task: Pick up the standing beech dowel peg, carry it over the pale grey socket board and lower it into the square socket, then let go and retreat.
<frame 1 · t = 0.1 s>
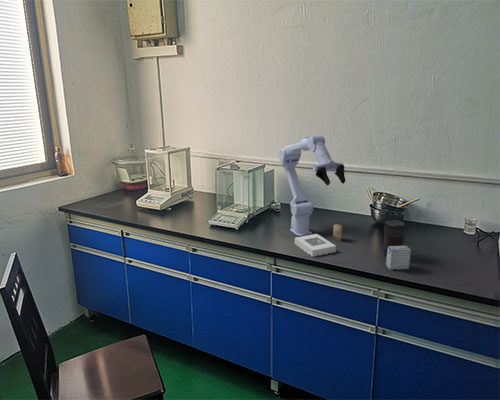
hand: (336, 183, 168), 32 cm above the worktop, tool tilted 50°, fingers open, 7 cm apart
peg: (337, 239, 192), on the worktop
medicine box: (397, 267, 163), on the worktop
socket board: (314, 247, 183), on the worktop
camera lens: (391, 255, 174), on the worktop
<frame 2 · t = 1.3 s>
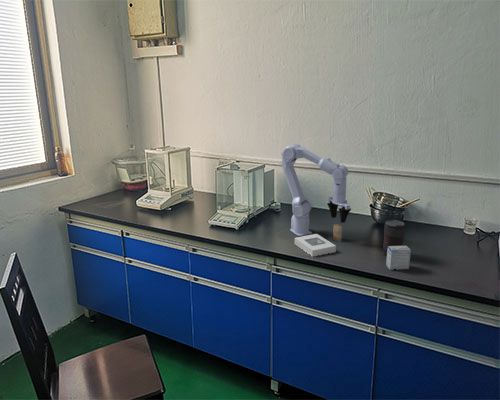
hand: (338, 219, 189), 10 cm above the worktop, tool pointing down, fingers open, 7 cm apart
nothing on the worktop moved.
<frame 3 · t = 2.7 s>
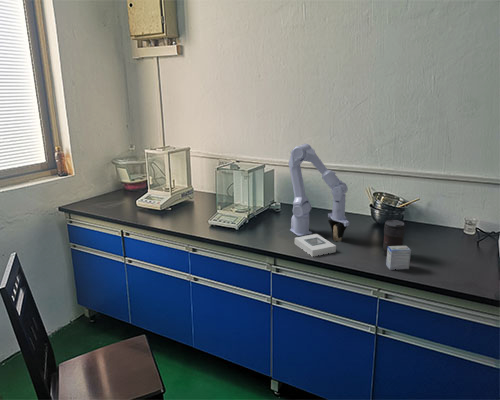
hand: (337, 235, 192), 2 cm above the worktop, tool pointing down, fingers closed on peg, 4 cm apart
peg: (337, 239, 192), on the worktop, touching gripper
everything else where it was.
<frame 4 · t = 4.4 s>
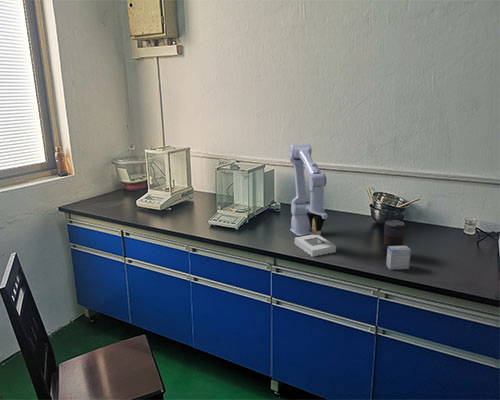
hand: (315, 229, 181), 9 cm above the worktop, tool pointing down, fingers closed on peg, 4 cm apart
peg: (316, 233, 181), point 7 cm above the worktop, touching gripper
everything else where it was.
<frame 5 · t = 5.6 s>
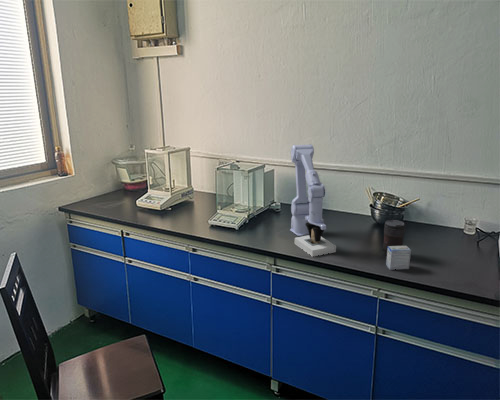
hand: (314, 239, 182), 4 cm above the worktop, tool pointing down, fingers closed on peg, 4 cm apart
peg: (315, 243, 183), point 2 cm above the worktop, touching gripper
everything else where it was.
when the fingers open (4 cm above the worktop, at t = 6.2 s): peg drops 2 cm, resting in socket board.
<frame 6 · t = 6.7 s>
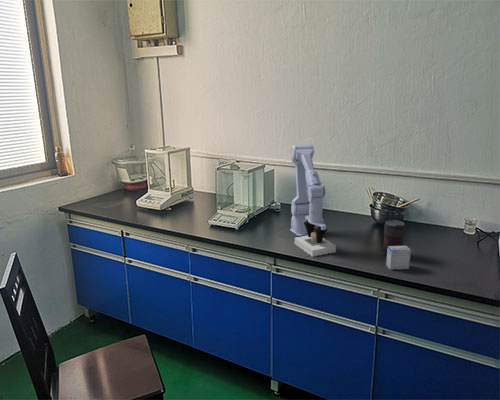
hand: (314, 239, 182), 4 cm above the worktop, tool pointing down, fingers open, 7 cm apart
peg: (315, 247, 183), resting in socket board
everything else where it was.
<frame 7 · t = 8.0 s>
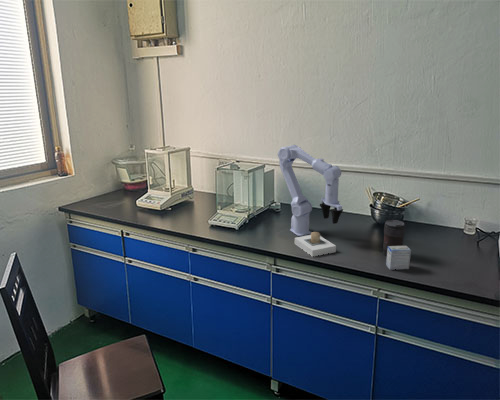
hand: (330, 220, 188), 10 cm above the worktop, tool pointing down, fingers open, 7 cm apart
nothing on the worktop moved.
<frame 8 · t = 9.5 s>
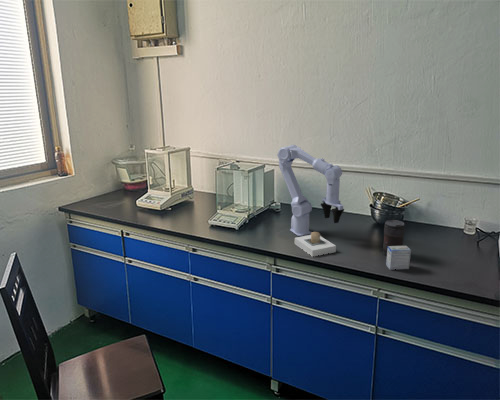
hand: (331, 220, 189), 10 cm above the worktop, tool pointing down, fingers open, 7 cm apart
nothing on the worktop moved.
at the end: peg 0.3 cm off-centre on the socket board, point 0.0 cm above the socket board's base; peg tilted 0°; the gripper is holding nothing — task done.
